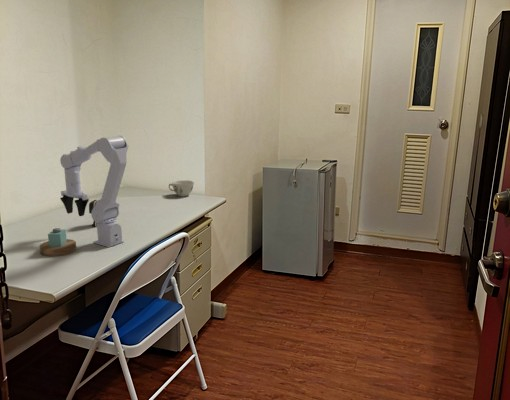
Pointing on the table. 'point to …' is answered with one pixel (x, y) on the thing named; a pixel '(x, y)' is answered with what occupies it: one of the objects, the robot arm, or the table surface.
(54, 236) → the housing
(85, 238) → the table surface
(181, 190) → the teacup
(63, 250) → the stand
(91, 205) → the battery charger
